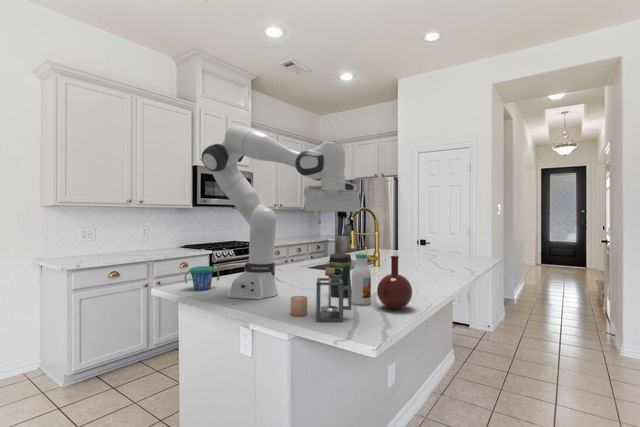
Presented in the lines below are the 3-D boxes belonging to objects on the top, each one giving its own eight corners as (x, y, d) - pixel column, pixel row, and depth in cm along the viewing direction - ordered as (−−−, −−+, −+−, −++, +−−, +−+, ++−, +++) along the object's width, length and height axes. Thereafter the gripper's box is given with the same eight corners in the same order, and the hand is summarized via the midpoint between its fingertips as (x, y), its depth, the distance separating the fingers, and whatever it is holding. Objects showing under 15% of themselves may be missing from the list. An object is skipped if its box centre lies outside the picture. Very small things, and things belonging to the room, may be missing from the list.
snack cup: (184, 292, 163) (185, 270, 163) (184, 288, 172) (184, 266, 172) (220, 290, 169) (220, 268, 169) (217, 285, 178) (218, 265, 178)
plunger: (320, 312, 122) (321, 269, 122) (321, 307, 128) (321, 266, 128) (338, 312, 122) (338, 269, 122) (337, 308, 128) (338, 267, 128)
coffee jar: (353, 294, 161) (354, 253, 161) (347, 298, 154) (347, 255, 154) (333, 292, 165) (334, 252, 165) (326, 296, 158) (326, 253, 158)
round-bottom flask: (403, 315, 129) (403, 259, 129) (370, 309, 137) (371, 256, 137) (417, 307, 139) (417, 256, 139) (386, 302, 147) (386, 253, 147)
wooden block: (289, 316, 127) (289, 299, 127) (291, 312, 133) (291, 295, 133) (306, 316, 127) (306, 299, 126) (307, 312, 133) (307, 295, 132)
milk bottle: (355, 306, 141) (356, 255, 141) (348, 301, 149) (349, 253, 149) (373, 304, 144) (374, 254, 143) (366, 300, 151) (366, 252, 151)
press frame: (316, 321, 121) (316, 283, 121) (317, 314, 130) (317, 278, 130) (352, 322, 121) (352, 283, 121) (350, 314, 130) (350, 278, 130)
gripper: (303, 184, 128) (302, 223, 128) (361, 185, 127) (360, 225, 128) (304, 186, 134) (303, 223, 134) (359, 187, 134) (358, 224, 134)
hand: (331, 224), depth 131 cm, fingers open, 8 cm apart
